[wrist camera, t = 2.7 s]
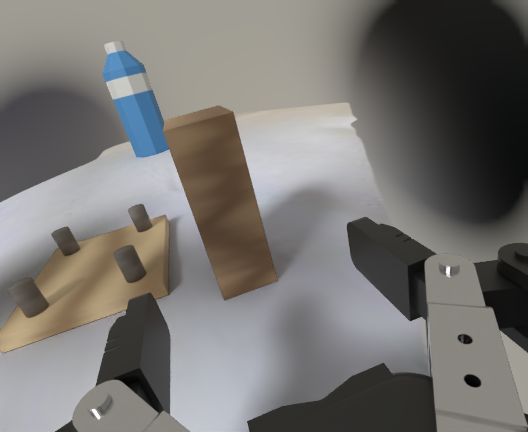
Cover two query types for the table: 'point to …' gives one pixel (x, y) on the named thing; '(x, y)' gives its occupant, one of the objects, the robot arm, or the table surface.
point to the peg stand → (90, 279)
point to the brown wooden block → (221, 198)
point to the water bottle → (134, 100)
